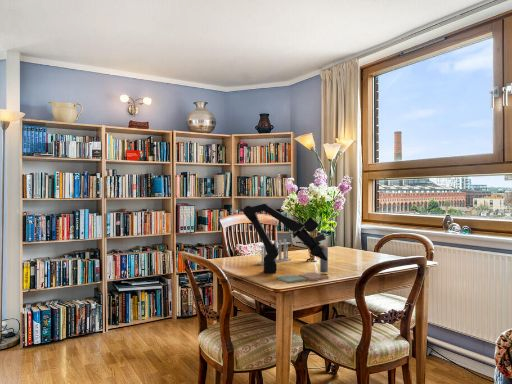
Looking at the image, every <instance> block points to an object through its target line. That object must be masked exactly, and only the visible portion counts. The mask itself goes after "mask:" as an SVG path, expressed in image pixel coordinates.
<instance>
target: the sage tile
mask: <svg viewBox="0 0 512 384" xmlns="http://www.w3.org/2000/svg"><path fill="white" fill-rule="evenodd" d="M275 280H279V281H280V282H281V281H282V282H283V283H287V284H292V283H298V282H305V281H307V279H306V278H303V277H300V276H298V275H296V274H285V275H279V276H275Z"/></svg>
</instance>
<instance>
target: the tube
mask: <svg viewBox="0 0 512 384" xmlns="http://www.w3.org/2000/svg"><path fill="white" fill-rule="evenodd" d="M321 247H322V252H323V253H324V255H325V256H326V258H327V261H325V260H323V259H321V258H319V259H320V261H319V262H320V263H319V264H320V265H319V270H320V271H319V272H320V273H322V274H323V273H328V272H329V271H328V270H329V269H328V268H329V247H328V246H327V245H325V244H323V245H321Z"/></svg>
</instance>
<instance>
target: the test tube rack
mask: <svg viewBox="0 0 512 384" xmlns="http://www.w3.org/2000/svg"><path fill="white" fill-rule="evenodd" d="M262 243H263V242H262ZM274 243H276V245H277V246H278V248H279V254H278V259H277V258H276V259H274V260H275V263H276V264H277V263H281V262H282V263H283V262H287V261H292V258H289V245H291V242H288V241H287V239H283V241H282V239H279V240H278V242H277V240H273V244H274ZM282 246H283V258H282ZM257 247H259V248H261V262H258V263H257V264H258V265H262V266H264V259H263V258H264V257H265V255H266V254H267V252H266V249H265V245H264V243H263V244H262V245H257Z"/></svg>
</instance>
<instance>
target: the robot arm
mask: <svg viewBox="0 0 512 384" xmlns="http://www.w3.org/2000/svg"><path fill="white" fill-rule="evenodd" d="M261 212H265V213H266V214H268V215H269V216H271V217H272V218H274V219H276V220H277V221H279V222H281V223H282V224H283V225H284V226H285V227H286V228H287V229H288V230H289V231H290V232H292V238H293V239H295V238H296V237H297V238H298V239H299V241H301V242H302V244H303V245H304V246H306V247H307V249H308V250H309V251H310V255H311V257H315V258H319V259H320V258H321V259H323V260H325V261H327V258H326V256H325V255H324V253H323V252H322V247H321V246H322V245H321V244H322V243H321V242H322V241H325V240H327V238H326V236H325V234H324V232H323V233H321V232H317V233H316V235H315V236H313V235H311V234H310V233H313V232H314V231H316V230H317V228H319V226H320V224H319V222H318V221H316V220H315V219H314V218H313V217H312V216H309V217H308V218H307V220H305V221H304V222H300V221H298V220H296V219H294V218H292V217H289V216H286V215H284V214H282V213H281V212H280V211H278V210H276V209H275V208H273V207H272V206H270V205H268V203H261V204H258V205H252V204H251V205H250V204H249V205H246V206H244V208H243V210H242V213H243V215H244V216H245V218H247V219H248V220H249V221H250V222H251V224H252V225H253V227H254V229H255V231H256V233H257V235H258V236H259V238H260V239H261V241H262V243H264V245H265V249H266V255H265V257H264V258H263V259H264V261H263V262H264V265H263V271H262V272H263V274H276V273H277V263H275V260H274V259H276V260H277V258H278V257H279V246H278V245H276V243H274V242H272V241H271V239H270V237H269V235H268V234H267V231H265V229H264V227H263V225H262V223H261V221H260V219H259V217H258V214H257V213H261Z"/></svg>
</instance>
